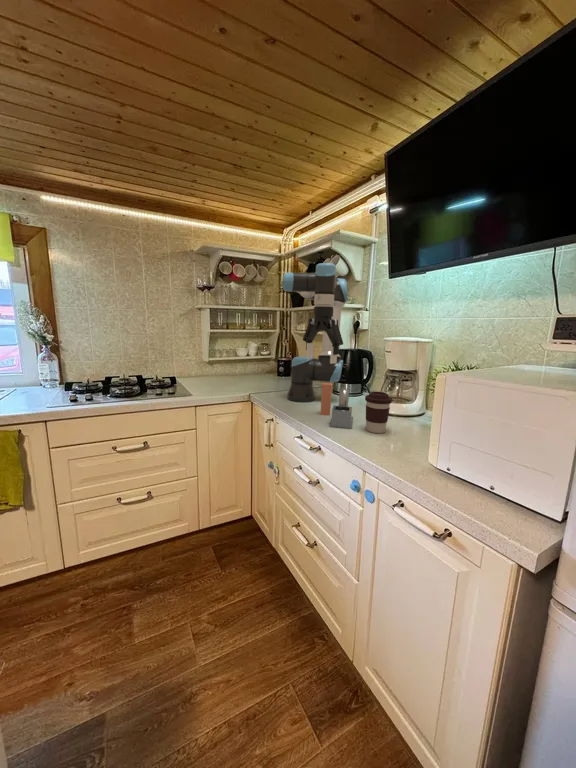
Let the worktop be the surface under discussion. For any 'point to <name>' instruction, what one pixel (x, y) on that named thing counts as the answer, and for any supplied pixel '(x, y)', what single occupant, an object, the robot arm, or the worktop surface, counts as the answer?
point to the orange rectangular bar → (326, 398)
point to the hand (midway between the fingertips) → (320, 361)
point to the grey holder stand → (342, 412)
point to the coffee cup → (377, 411)
